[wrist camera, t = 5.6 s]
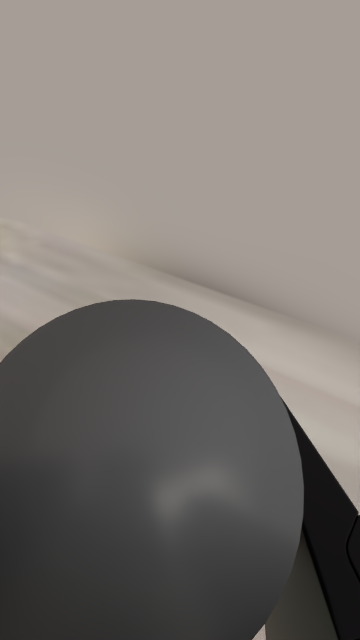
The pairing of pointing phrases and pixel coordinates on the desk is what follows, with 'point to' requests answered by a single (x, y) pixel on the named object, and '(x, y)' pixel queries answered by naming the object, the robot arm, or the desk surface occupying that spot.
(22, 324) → the desk surface
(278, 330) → the desk surface
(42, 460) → the gray capsule
